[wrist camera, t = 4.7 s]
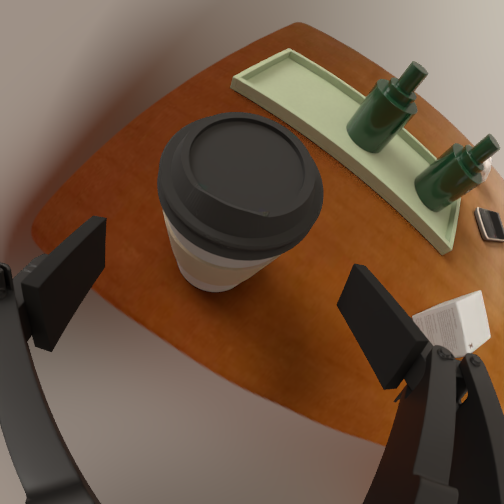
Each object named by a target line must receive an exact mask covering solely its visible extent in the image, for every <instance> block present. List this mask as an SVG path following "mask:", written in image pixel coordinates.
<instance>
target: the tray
mask: <svg viewBox="0 0 504 504" xmlns="http://www.w3.org/2000/svg"><path fill="white" fill-rule="evenodd" d="M230 88H231V89H233V90H235V91H237V92H238V93H240V94H242V95H243V96H245V97H247V98H248V99H250V100H251V101H253V102H255V103H256V104H258V105H259V106H261V107H263V108H264V109H266V110H267V111H269V112H270V113H272V114H273V115H275V116H277V117H278V118H280V119H281V120H283V121H284V122H286V123H287V124H288V125H290V126H291V127H293V128H294V129H296V130H297V131H299V132H300V133H301V134H303V135H304V136H306V137H307V138H308V139H310V140H311V141H313V142H314V143H315V144H317V145H318V146H319V147H321V148H322V149H323V150H325V151H326V152H327V153H329V154H330V155H331V156H333V157H334V158H335V159H336V160H338V161H339V162H340V163H342V164H343V165H344V166H345V167H347V168H348V169H349V170H350V171H352V172H353V173H354V174H355V175H356V176H358V177H359V178H360V179H361V180H363V181H364V182H365V183H366V184H367V185H368V186H370V187H371V188H372V189H373V190H374V191H375V192H377V193H378V194H379V195H380V196H381V197H382V198H383V199H385V200H386V201H387V202H388V203H389V204H390V205H391V206H392V207H393V208H395V209H396V210H397V211H398V212H399V213H400V214H401V215H402V216H403V217H404V218H405V219H406V220H407V221H408V222H410V223H411V224H412V225H413V226H414V227H415V228H416V229H417V230H418V231H419V232H420V233H421V234H422V235H423V236H424V237H425V238H426V239H427V240H428V241H429V242H430V243H431V244H432V245H433V246H434V247H435V248H436V249H437V251H438V252H439V253H440V254H441V255H444V254H446V253H448V252H450V251H452V248H453V243H454V238H455V233H456V227H457V221H458V215H459V208H460V201H461V198H459V199H458V200H456V201H455V202H453V203H452V204H450V205H449V206H447V207H446V208H444V209H443V210H441V211H440V212H433V211H431V210H430V209H428V208H427V207H426V206H425V205H424V204H423V203H422V201H421V200H420V198H419V197H418V195H417V192H416V190H415V185H414V181H415V178H416V176H418V175H419V174H420V173H421V172H422V171H424V170H425V169H426V168H427V167H428V166H429V165H431V164H432V163H433V162H434V161H435V160H436V159H437V158H436V157H435V156H434V155H433V154H432V153H431V152H430V151H429V150H428V149H426V148H425V147H424V146H423V145H422V144H421V143H420V142H419V141H418V140H417V139H416V138H415V137H414V136H412V135H411V134H410V133H409V132H408V131H407V130H406V129H405V128H402V129H401V130H400V132H399V133H398V134H397V135H396V136H395V137H394V138H393V139H392V140H391V141H390V142H389V143H388V145H387V146H386V147H385V148H384V149H383V150H382V151H381V152H379V153H370V152H367V151H365V150H363V149H361V148H360V147H359V146H357V145H356V144H355V143H354V142H353V141H352V139H351V138H350V136H349V135H348V133H347V129H346V125H347V123H348V121H349V120H350V119H351V117H352V116H353V115H354V113H355V112H356V110H357V109H358V108H359V106H360V105H361V103H362V102H363V101H364V99H365V98H366V97H365V96H363V95H362V94H361V93H359V92H358V91H357V90H355V89H354V88H352V87H351V86H349V85H348V84H347V83H345V82H344V81H342V80H341V79H339V78H338V77H336V76H335V75H333V74H332V73H330V72H329V71H327V70H325V69H324V68H322V67H321V66H319V65H317V64H316V63H314V62H312V61H311V60H309V59H307V58H306V57H304V56H302V55H300V54H299V53H297V52H295V51H293V50H292V49H290V48H289V49H287V50H284V51H282V52H280V53H278V54H276V55H274V56H272V57H270V58H268V59H266V60H264V61H262V62H260V63H258V64H256V65H254V66H252V67H250V68H248V69H246V70H244V71H243V72H241V73H239V74H237V75H235V76H234V77H233V79H232V83H231V87H230Z"/></svg>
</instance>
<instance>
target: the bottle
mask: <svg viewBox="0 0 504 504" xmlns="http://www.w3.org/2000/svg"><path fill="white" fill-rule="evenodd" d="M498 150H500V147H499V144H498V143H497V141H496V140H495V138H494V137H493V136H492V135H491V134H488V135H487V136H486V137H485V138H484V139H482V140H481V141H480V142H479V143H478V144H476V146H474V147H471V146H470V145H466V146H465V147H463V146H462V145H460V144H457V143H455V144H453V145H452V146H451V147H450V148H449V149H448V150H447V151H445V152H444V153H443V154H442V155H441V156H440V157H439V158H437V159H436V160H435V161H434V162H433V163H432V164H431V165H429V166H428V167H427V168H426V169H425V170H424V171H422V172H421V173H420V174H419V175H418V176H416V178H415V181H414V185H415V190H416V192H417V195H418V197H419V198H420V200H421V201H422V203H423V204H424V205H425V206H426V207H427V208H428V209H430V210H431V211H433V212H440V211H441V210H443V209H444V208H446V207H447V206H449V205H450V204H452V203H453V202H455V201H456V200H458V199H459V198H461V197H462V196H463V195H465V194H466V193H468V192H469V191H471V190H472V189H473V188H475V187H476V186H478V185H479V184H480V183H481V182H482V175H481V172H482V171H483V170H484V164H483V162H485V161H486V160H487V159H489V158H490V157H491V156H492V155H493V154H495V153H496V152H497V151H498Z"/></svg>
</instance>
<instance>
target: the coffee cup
mask: <svg viewBox="0 0 504 504" xmlns="http://www.w3.org/2000/svg"><path fill="white" fill-rule="evenodd" d="M157 186H158V195H159V199H160V203H161V206H162V208H163V214H164V219H165V223H166V227H167V231H168V235H169V239H170V242H171V246H172V250H173V253H174V255H175V258H176V260H177V263H178V267H179V269H180V271H181V273H182V275H183V276H184V277H185V279H186V280H187V281H188V282H189V283H191V284H192V285H193V286H195V287H197V288H199V289H201V290H204V291H209V292H222V291H226V290H229V289H232V288H234V287H235V286H237V285H238V284H239V283H241V282H243V281H245V280H247V279H248V278H250V277H251V276H253V275H254V274H255V273H257V272H258V271H260V270H261V269H262V268H264V267H265V266H266V265H268V264H269V263H271V262H272V261H273V260H275V259H276V258H277V257H279V256H280V255H281V254H282V253H284V252H286V251H288V250H290V249H291V248H293V247H294V246H296V245H297V244H298V243H299V242H300V241H301V240H302V239H303V238H304V237H305V236H306V235H307V234H308V232H309V231H310V229H311V227H312V226H313V224H314V223H315V221H316V220H317V218H318V216H319V214H320V211H321V208H322V204H323V184H322V179H321V176H320V173H319V171H318V168H317V166H316V164H315V162H314V161H313V159H312V157H311V156H310V154H309V152H308V150H307V149H306V147H305V146H304V145H303V143H302V142H301V141H300V140H299V139H298V138H297V137H296V136H295V135H294V134H293V133H292V132H291V131H289V130H288V129H287V128H285V127H284V126H282V125H280V124H279V123H277V122H275V121H273V120H270V119H268V118H265V117H262V116H259V115H255V114H251V113H243V112H229V113H221V114H217V115H214V116H210V117H206V118H203V119H200V120H197V121H195V122H192V123H190V124H189V125H187V126H185V127H184V128H182V129H181V130H179V131H178V132H177V133H176V134H175V135H174V136H173V137H172V138H171V139H170V141H169V142H168V143H167V145H166V147H165V148H164V150H163V153H162V156H161V159H160V164H159V173H158V181H157Z"/></svg>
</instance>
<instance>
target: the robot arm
mask: <svg viewBox="0 0 504 504" xmlns="http://www.w3.org/2000/svg"><path fill="white" fill-rule="evenodd" d="M106 219H107V218H104V217H98V216H92V217H91V218H90V219H88V220H87V221H86V222H85V223H84V224H83V225H81V226H80V227H79V228H78V229H77V230H76V231H74V232H73V233H72V234H71V235H70V236H69V237H68V238H66V239H65V240H64V241H63V242H62V243H61V244H60V245H59V246H58V247H56V248H55V249H54V250H53V251H52V252H51V253H50V254H49V255H47V254H42V255H40V256H38V257H36V258H34V259H33V260H32V261H31V262H30V263H29V264H28V265H27V266H26V267H25V268H24V269H23V270H21V271H20V272H19V273H18V274H17V275H16V276H15V277H14V278H13V279H12V274H11V269H10V267H9V265H7V264H5V263H0V424H1V429H2V432H3V435H4V438H5V442H6V445H7V447H8V450H9V453H10V456H11V459H12V462H13V464H14V467H15V469H16V472H17V474H18V477H19V479H20V481H21V483H22V486H23V488H24V490H25V493H26V496H27V499H26V502H25V503H26V504H101V503H100V502H99V500H98V499H97V497H96V496H95V494H94V493H93V491H92V490H91V488H90V486H89V485H88V483H87V481H86V480H85V478H84V476H83V475H82V473H81V471H80V470H79V468H78V466H77V465H76V463H75V461H74V459H73V457H72V455H71V453H70V451H69V449H68V447H67V445H66V444H65V442H64V440H63V437H62V435H61V433H60V431H59V429H58V427H57V424H56V422H55V420H54V418H53V415H52V413H51V411H50V408H49V406H48V403H47V401H46V398H45V395H44V393H43V390H42V387H41V385H40V382H39V379H38V376H37V373H36V370H35V367H34V363H33V360H32V356H31V353H30V349H29V346H28V343H27V341H28V340H29V338H30V337H31V335H32V337H33V340H34V344H35V347H38V348H41V349H44V350H47V351H50V352H52V351H53V349H54V347H55V345H56V344H57V342H58V340H59V338H60V337H61V335H62V333H63V331H64V330H65V328H66V326H67V325H68V323H69V321H70V320H71V318H72V317H73V315H74V313H75V312H76V310H77V309H78V307H79V305H80V304H81V302H82V301H83V299H84V298H85V296H86V294H87V293H88V291H89V290H90V288H91V287H92V285H93V284H94V282H95V281H96V279H97V278H98V276H99V275H100V274H101V272H102V271H103V269H104V268H105V238H106ZM337 307H338V308H339V310H340V312H341V314H342V315H343V317H344V319H345V320H346V322H347V324H348V326H349V327H350V329H351V331H352V333H353V334H354V336H355V338H356V340H357V342H358V343H359V345H360V347H361V349H362V350H363V352H364V354H365V356H366V358H367V360H368V361H369V363H370V365H371V367H372V369H373V371H374V372H375V374H376V376H377V378H378V380H379V382H380V384H381V385H382V387H383V389H384V390H385V389H395V388H397V387H398V386H399V384H400V383H401V382H402V380H403V379H405V381H406V383H407V385H406V386H405V387H404V389H403V390H402V391H401V393H400V394H399V395H398V396H397V398H396V399H395V400H394V402H397V400H399V399H400V402H399V406H398V410H397V413H396V417H395V420H394V423H393V427H392V430H391V433H390V436H389V439H388V442H387V445H386V448H385V451H384V453H383V456H382V459H381V461H380V464H379V467H378V469H377V472H376V475H375V477H374V479H373V481H372V484H371V486H370V488H369V491H368V493H367V495H366V497H365V500H364V502H363V504H504V415H503V412H502V409H501V406H500V403H499V400H498V398H497V395H496V392H495V390H494V387H493V384H492V382H491V379H490V377H489V374H488V372H487V370H486V367H485V365H484V363H483V361H482V360H481V359H480V357H478V356H477V355H474V354H472V353H466V355H465V356H464V358H463V359H462V360H461V361H459V360H455V357H454V355H453V354H452V353H451V352H450V351H449V350H448V349H447V348H445V347H443V346H440V345H435V346H433V345H432V343H431V342H430V341H429V340H428V338H427V337H426V336H425V335H424V333H423V332H422V331H421V330H420V328H419V327H418V326H417V325H416V324H415V322H414V321H413V320H412V319H411V317H409V316H408V315H407V313H406V312H405V311H404V310H403V309H402V307H401V306H400V305H399V304H398V303H397V301H396V300H395V299H394V298H393V297H392V296H391V294H390V293H389V292H388V291H387V290H386V289H385V288H384V286H383V285H382V284H381V283H380V282H379V281H378V280H377V278H376V277H375V276H374V275H373V274H372V273H371V272H370V271H369V270H368V268H367V267H366V266H364V265H359V264H354V265H353V267H352V270H351V272H350V275H349V277H348V279H347V282H346V284H345V287H344V289H343V291H342V294H341V296H340V298H339V301H338V303H337ZM467 391H468V397H467V399H466V400H465V401H464V402H463V403H461V398H462V397H463V396H464V395H465V394H466V392H467Z"/></svg>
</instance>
